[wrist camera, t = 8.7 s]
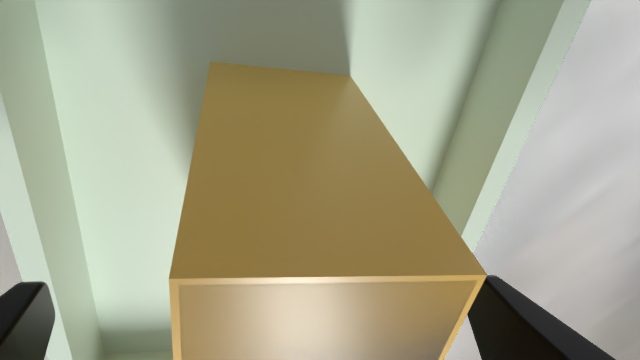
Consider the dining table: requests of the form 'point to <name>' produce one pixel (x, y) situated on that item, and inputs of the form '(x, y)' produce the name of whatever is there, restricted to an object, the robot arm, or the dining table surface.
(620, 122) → the dining table surface
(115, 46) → the parts tray
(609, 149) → the dining table surface
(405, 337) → the tan rectangular block
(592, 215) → the dining table surface
